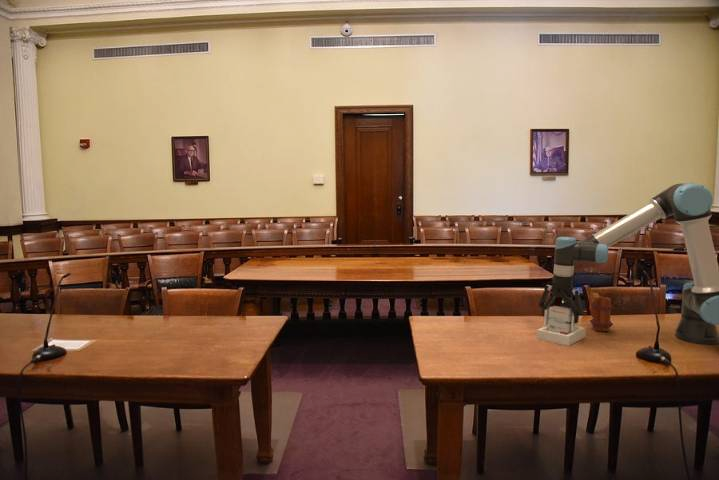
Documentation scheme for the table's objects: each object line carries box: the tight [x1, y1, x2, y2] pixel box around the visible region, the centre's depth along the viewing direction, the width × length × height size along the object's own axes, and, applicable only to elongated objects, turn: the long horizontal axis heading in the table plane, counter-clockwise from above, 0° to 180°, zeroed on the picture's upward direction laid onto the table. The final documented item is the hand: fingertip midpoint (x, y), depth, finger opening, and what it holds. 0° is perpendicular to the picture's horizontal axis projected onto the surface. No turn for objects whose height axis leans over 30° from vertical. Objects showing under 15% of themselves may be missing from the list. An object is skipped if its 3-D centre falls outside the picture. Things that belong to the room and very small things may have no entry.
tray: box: [536, 324, 586, 347], centre depth 204 cm, size 13×17×4 cm
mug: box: [588, 292, 614, 333], centre depth 217 cm, size 15×8×15 cm, turn 179°
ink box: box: [547, 305, 574, 335], centre depth 204 cm, size 8×5×12 cm, turn 41°
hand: (559, 327), depth 205 cm, fingers open, 10 cm apart
